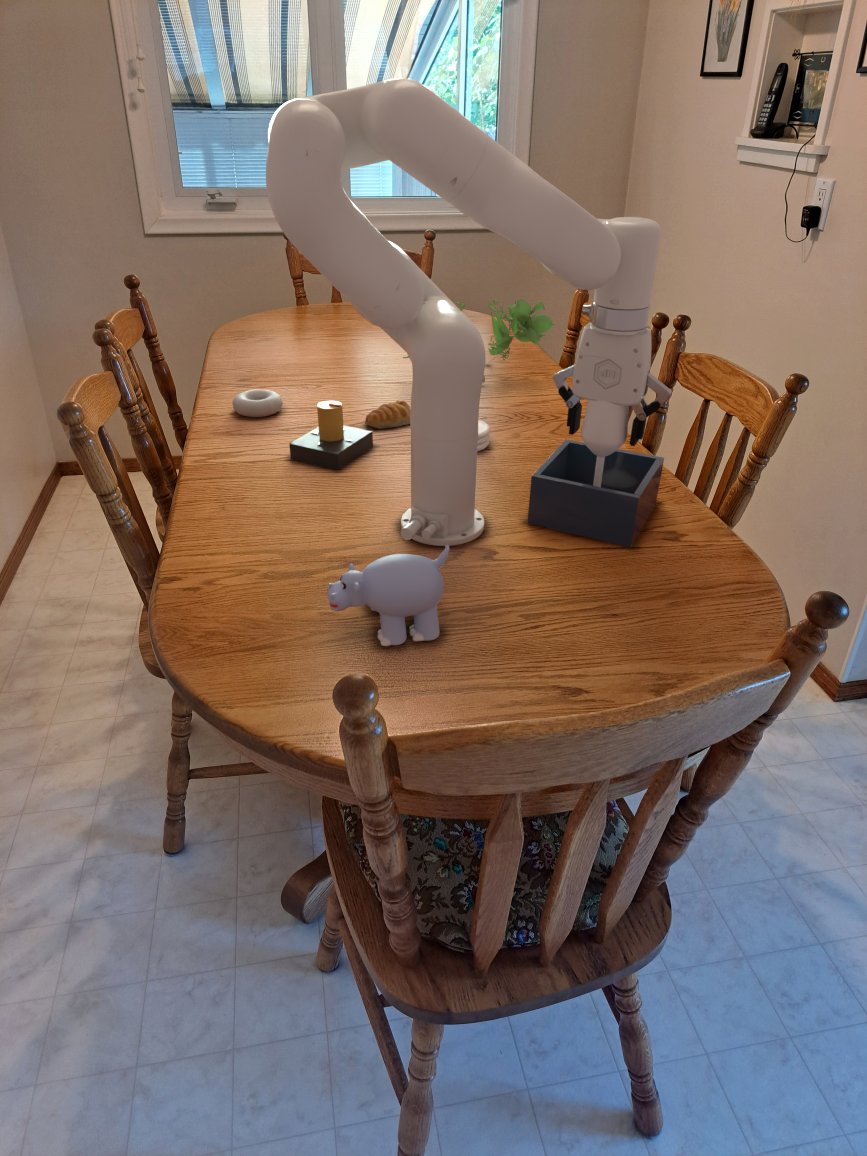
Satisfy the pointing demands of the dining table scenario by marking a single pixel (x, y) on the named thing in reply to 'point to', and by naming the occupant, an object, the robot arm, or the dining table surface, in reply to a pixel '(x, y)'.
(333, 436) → the tap knob
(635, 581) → the dining table surface
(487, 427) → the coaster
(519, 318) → the plant cuttings
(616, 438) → the champagne flute
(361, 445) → the panel
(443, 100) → the robot arm
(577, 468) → the basin
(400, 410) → the pastry
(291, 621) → the dining table surface
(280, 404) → the donut
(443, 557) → the hippopotamus toy
